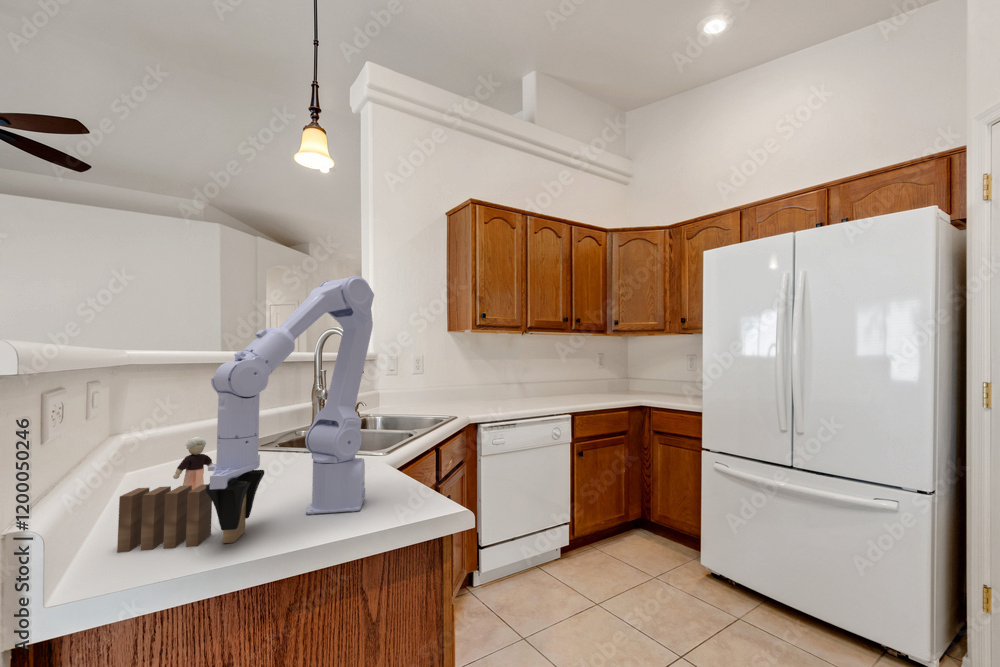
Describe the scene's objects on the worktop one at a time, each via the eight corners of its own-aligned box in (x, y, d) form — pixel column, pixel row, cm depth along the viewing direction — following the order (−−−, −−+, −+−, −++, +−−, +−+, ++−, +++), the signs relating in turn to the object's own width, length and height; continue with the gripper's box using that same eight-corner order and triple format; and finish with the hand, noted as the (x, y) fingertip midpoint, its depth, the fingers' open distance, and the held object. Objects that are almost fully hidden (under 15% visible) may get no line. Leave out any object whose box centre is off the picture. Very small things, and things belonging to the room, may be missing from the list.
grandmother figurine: (185, 507, 85) (188, 440, 85) (169, 506, 85) (171, 439, 86) (218, 495, 92) (220, 433, 93) (203, 494, 93) (205, 433, 94)
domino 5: (245, 531, 72) (246, 481, 72) (234, 542, 68) (235, 488, 68) (234, 532, 72) (235, 481, 72) (222, 543, 67) (224, 489, 68)
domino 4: (210, 534, 71) (212, 484, 71) (197, 546, 67) (199, 491, 67) (199, 535, 71) (201, 484, 71) (185, 547, 66) (187, 492, 67)
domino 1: (147, 539, 69) (149, 487, 70) (129, 551, 65) (131, 495, 65) (135, 540, 69) (137, 488, 69) (117, 552, 65) (119, 496, 65)
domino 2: (168, 538, 70) (170, 486, 70) (152, 549, 65) (154, 494, 66) (157, 538, 70) (159, 486, 70) (140, 550, 65) (142, 495, 66)
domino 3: (190, 536, 70) (191, 485, 71) (175, 547, 66) (177, 493, 67) (178, 537, 70) (180, 485, 71) (163, 548, 66) (165, 493, 66)
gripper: (229, 430, 77) (227, 510, 76) (187, 445, 63) (183, 544, 62) (273, 428, 78) (271, 507, 77) (241, 443, 64) (239, 539, 63)
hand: (235, 523), depth 70 cm, fingers closed on domino 5, 4 cm apart
